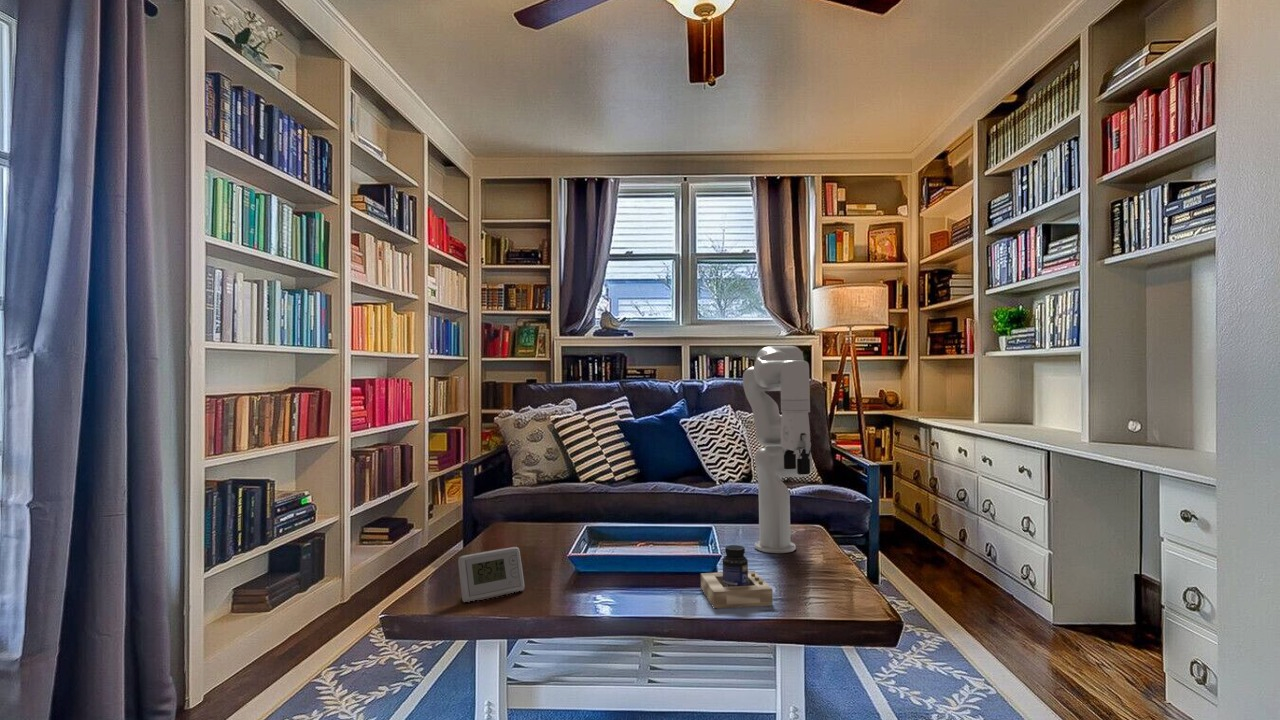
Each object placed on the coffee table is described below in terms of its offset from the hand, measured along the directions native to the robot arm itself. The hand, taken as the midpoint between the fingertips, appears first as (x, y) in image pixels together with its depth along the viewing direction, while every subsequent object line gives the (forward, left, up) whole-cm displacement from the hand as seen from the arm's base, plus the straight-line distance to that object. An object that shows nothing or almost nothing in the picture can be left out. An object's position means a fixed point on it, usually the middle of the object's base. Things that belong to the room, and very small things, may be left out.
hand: (796, 471), depth 165 cm
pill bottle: (+10, -20, -28) cm, 36 cm away
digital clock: (0, -79, -29) cm, 84 cm away
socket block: (+10, -20, -28) cm, 36 cm away
